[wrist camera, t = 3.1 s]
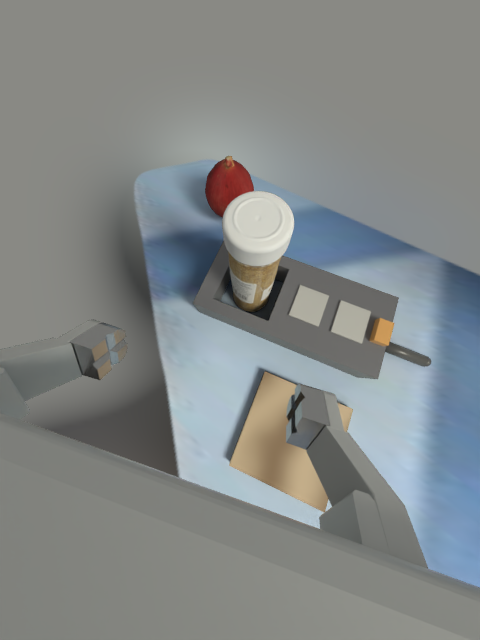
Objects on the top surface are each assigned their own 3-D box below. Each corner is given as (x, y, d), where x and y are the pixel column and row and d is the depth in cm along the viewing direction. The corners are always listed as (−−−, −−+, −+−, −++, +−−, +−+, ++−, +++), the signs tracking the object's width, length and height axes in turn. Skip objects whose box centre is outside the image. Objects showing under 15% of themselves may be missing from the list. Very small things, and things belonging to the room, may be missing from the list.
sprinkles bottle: (274, 303, 25) (309, 233, 12) (241, 318, 25) (240, 262, 12) (258, 272, 26) (274, 177, 13) (226, 287, 26) (209, 202, 13)
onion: (202, 220, 28) (187, 164, 20) (224, 191, 29) (217, 126, 21) (238, 239, 27) (236, 188, 19) (259, 208, 28) (265, 148, 21)
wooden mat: (349, 407, 22) (353, 409, 21) (321, 506, 20) (324, 512, 19) (264, 371, 23) (265, 371, 22) (229, 461, 21) (229, 465, 20)
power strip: (432, 327, 24) (471, 319, 20) (416, 401, 22) (456, 409, 18) (228, 252, 27) (225, 230, 23) (199, 312, 25) (190, 300, 21)
